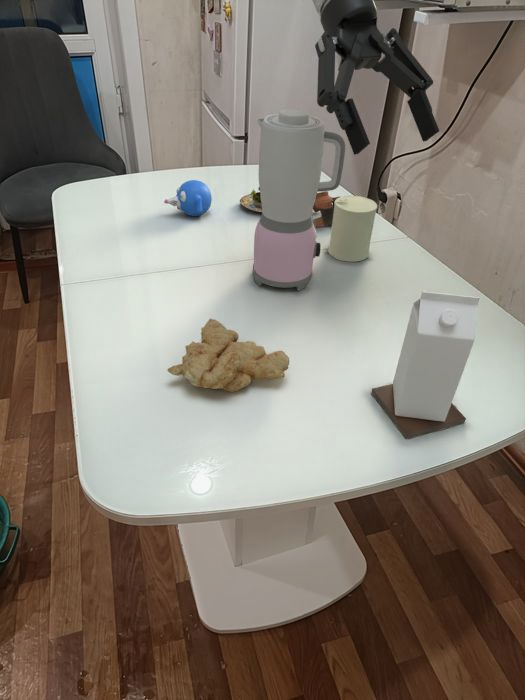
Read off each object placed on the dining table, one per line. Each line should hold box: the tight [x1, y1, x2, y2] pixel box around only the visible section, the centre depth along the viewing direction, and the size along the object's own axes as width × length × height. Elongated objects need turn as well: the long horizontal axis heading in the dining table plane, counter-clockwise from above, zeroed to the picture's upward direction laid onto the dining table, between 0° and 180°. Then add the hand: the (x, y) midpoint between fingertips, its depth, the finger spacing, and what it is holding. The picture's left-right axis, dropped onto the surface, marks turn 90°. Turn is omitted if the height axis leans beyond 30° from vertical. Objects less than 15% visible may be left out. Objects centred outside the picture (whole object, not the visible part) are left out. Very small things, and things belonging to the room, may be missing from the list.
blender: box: [252, 108, 346, 291], centre depth 96 cm, size 16×12×32 cm
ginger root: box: [167, 318, 290, 393], centre depth 79 cm, size 16×16×8 cm
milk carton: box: [392, 290, 481, 422], centre depth 71 cm, size 7×7×19 cm
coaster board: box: [370, 383, 467, 440], centre depth 77 cm, size 10×10×1 cm
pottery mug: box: [312, 191, 340, 229], centre depth 128 cm, size 12×10×8 cm
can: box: [327, 195, 378, 263], centre depth 112 cm, size 9×9×12 cm
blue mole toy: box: [163, 179, 213, 217], centre depth 126 cm, size 12×12×8 cm
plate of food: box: [239, 186, 262, 213], centre depth 132 cm, size 12×12×8 cm
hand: (398, 142), depth 72 cm, fingers open, 13 cm apart
